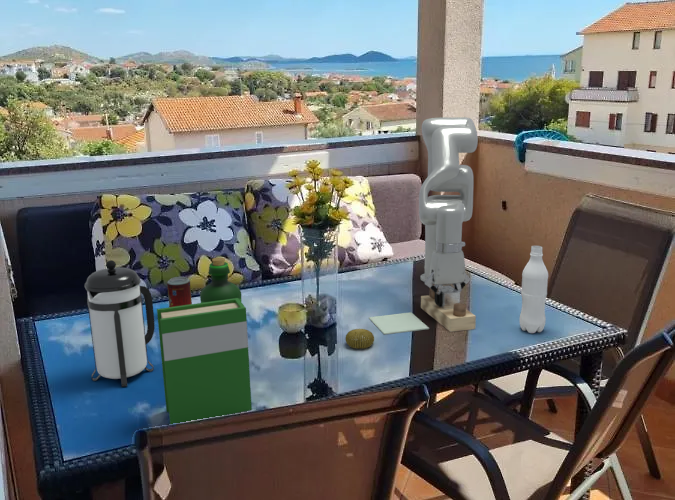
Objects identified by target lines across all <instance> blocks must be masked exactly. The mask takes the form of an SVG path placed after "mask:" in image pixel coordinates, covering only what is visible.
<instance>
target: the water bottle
mask: <svg viewBox="0 0 675 500" xmlns="http://www.w3.org/2000/svg"><path fill="white" fill-rule="evenodd" d="M530 249H531V250H530V253H529V255H530V257H529V260H528V262H527V263H526V265H525V266H524V268H523V270H522V272H521V273H522V274H521V277H522V279H521V291H520V294H521V300H522V301H521V310H520V314H519V326H520V328H521V330H522V331H527V333H530V334H535V333H536V332H537V333H541V332H543V330H544V328H545V325H546V319H547V318H546V310H545V307H546V306H545V305H546V299H547V295H548V283H549V282H548V281H549V271H548V269H547V267H546V265H545V262H544V260H543V256H544V254H543V246H540V245H531V248H530Z"/></svg>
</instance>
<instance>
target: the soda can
mask: <svg viewBox="0 0 675 500" xmlns="http://www.w3.org/2000/svg"><path fill="white" fill-rule="evenodd" d="M166 287H167V296H168V297H167V298H168V307H175V306H183V305H190V304H193V301H192V291H191V280H190V279H189V278H187V277H186V276H174V277H172V278H170V279H168V281H167V283H166Z"/></svg>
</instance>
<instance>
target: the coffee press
mask: <svg viewBox="0 0 675 500" xmlns="http://www.w3.org/2000/svg"><path fill="white" fill-rule="evenodd" d="M116 266H117V263H116V262H115V261H114V260H108V261H107V262H106V265H105V267H106V268H103V269H100V270H96V271H94V272H92V273H91V274H90V275H89V276H88V277H87V278H86V281H85V283H84V288H85V290H86V292H87V293H86V294H87V298H86V301H87V302H86V303H87V308H88V317H89V326H90V333H91V343H92V351H93V360H94V366H95V367H94V368H95V369H94V371H93V372H92V374H91V381H93V382H96V381H99V378H101V377H103V378H106V379H112V380H118V379H120V381H121V388H124V387H128V380H127V378H130V377H133V376H136V375H138V374H140V373H141V372H142V371H144V370H145V371H147V372H151V373H152V372H153V371H154V365H153V364H152V363H151V362H150V361H149V356H148V355H147V354H148V349H147V345H148V344H149V343H150V342H151V341H152V339H153V336H154V334H155V330H156V329H155V325H156V323H155V315H154V313H155V312H154V303H153V302H154V301H153V296H152V293H151V291H150V290H149V288H148V287H147V286H143V285H140V284H141V282H142V281H141V277H140V276H139V275H138V274H137V272H136V271H134V269H131V268H127V267H116ZM142 295H143V297H144V299H142V298H143V297H142ZM143 300H144V305H145V316H146V323H147V324H146V326H147V330H146V329H145V319H144V309H143ZM148 364H149V366H151V367H152V368H151V369H149V368H148V367H146V366H147V365H148ZM96 371H97V374H98V376H96V377H95V378H94V375H95V374H96Z"/></svg>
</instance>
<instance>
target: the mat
mask: <svg viewBox="0 0 675 500" xmlns="http://www.w3.org/2000/svg"><path fill="white" fill-rule="evenodd" d="M368 319H369V320H370V321H371V322H372V324H373V325H374V326H375V327H377V329H378V330H379V331H380V332H381V333H382V335H392V334H401V333H407V332H408V333H409V332H410V333H411V332H416V331H423V330H425V331H426V330H429V329H430V327H429V326H428V325H426V324H425V323H424V322H422V320H421V319H420V318H418V317H417V316H416V315H415V314H414V313H412V311H410V312H402V313H395V314H386V315H385V314H384V315H378V316H377V315H376V316H369V317H368Z"/></svg>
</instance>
